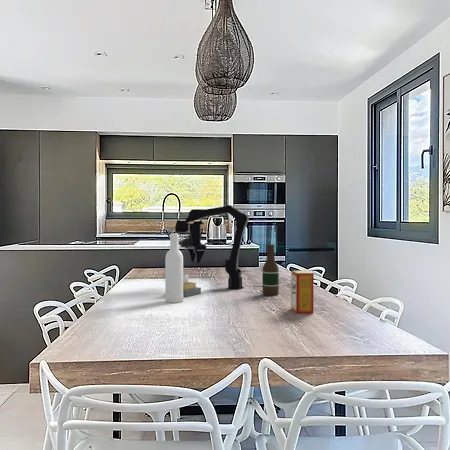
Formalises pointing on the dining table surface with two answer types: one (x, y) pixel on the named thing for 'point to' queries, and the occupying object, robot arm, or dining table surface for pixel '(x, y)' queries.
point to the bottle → (174, 272)
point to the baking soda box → (302, 291)
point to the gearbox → (190, 289)
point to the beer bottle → (270, 274)
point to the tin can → (185, 277)
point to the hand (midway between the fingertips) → (195, 262)
